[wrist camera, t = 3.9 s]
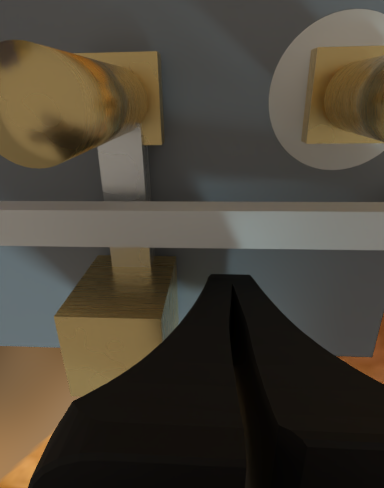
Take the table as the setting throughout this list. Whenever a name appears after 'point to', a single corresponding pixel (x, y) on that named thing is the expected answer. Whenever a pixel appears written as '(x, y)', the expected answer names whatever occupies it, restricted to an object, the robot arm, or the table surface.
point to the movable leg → (113, 184)
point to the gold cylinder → (345, 96)
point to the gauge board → (208, 168)
